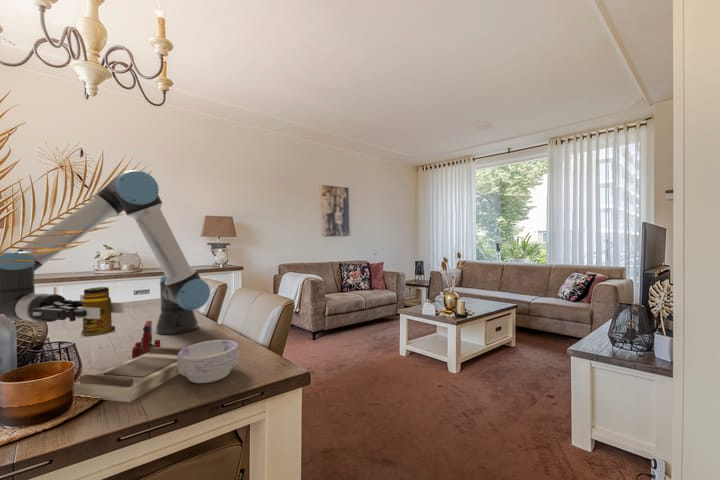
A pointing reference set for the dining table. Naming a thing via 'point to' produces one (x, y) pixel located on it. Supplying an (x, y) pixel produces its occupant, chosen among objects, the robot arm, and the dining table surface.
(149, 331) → the toy fire truck
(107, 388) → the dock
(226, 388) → the dining table surface
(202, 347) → the paper bowls
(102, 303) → the condiment
